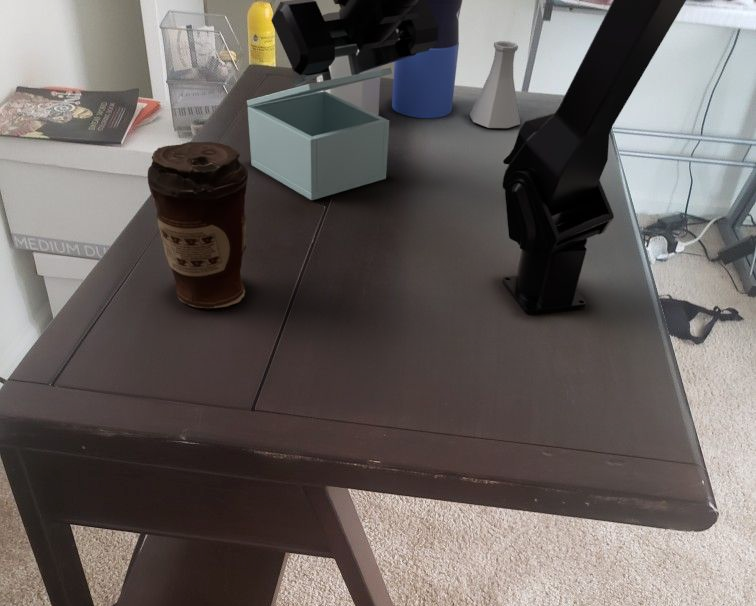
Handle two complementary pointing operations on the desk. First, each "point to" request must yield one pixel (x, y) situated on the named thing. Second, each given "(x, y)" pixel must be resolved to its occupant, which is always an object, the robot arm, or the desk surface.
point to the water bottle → (430, 69)
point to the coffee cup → (201, 219)
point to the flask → (498, 91)
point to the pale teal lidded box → (318, 143)
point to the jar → (355, 93)
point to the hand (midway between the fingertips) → (325, 75)
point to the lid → (326, 79)
